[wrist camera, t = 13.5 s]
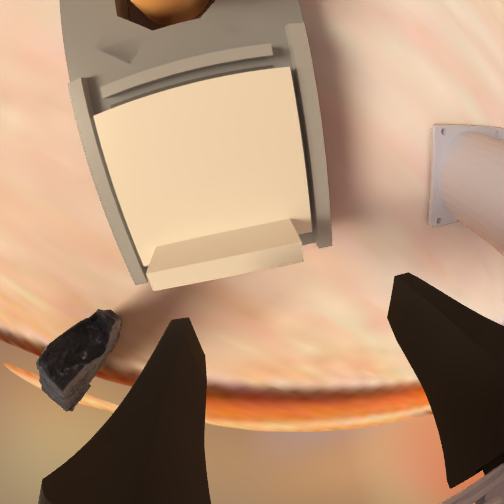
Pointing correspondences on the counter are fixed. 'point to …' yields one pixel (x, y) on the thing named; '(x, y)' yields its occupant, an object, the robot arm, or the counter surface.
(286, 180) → the lid
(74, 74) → the housing
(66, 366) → the stone
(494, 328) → the robot arm
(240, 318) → the counter surface
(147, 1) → the orange cylinder
